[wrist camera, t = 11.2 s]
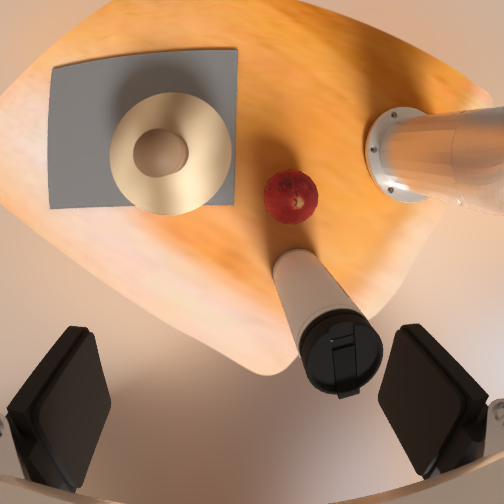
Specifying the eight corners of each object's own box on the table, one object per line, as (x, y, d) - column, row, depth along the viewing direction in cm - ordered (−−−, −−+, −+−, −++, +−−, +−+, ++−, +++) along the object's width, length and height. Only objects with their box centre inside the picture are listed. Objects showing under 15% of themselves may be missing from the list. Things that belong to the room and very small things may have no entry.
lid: (233, 93, 29) (234, 79, 23) (230, 213, 32) (230, 226, 26) (114, 98, 28) (91, 88, 22) (114, 214, 31) (92, 227, 26)
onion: (254, 177, 37) (260, 182, 30) (300, 162, 37) (318, 163, 29) (269, 223, 39) (279, 240, 31) (314, 208, 39) (335, 221, 31)
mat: (238, 51, 33) (238, 50, 32) (233, 204, 38) (233, 205, 37) (54, 70, 31) (52, 69, 30) (52, 208, 36) (49, 209, 36)
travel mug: (277, 301, 42) (311, 408, 23) (268, 253, 40) (301, 341, 21) (323, 290, 42) (385, 387, 23) (317, 243, 40) (387, 318, 21)
